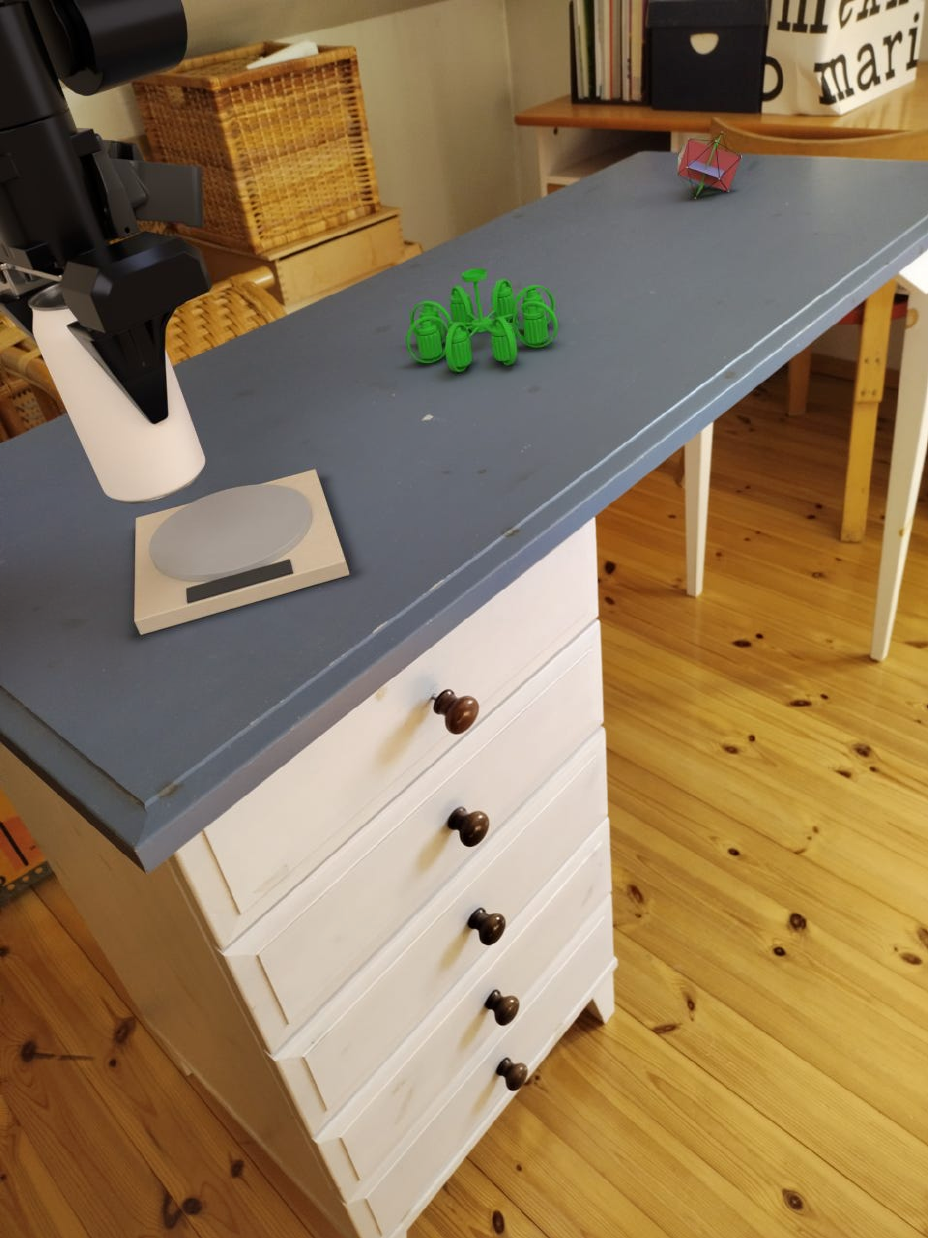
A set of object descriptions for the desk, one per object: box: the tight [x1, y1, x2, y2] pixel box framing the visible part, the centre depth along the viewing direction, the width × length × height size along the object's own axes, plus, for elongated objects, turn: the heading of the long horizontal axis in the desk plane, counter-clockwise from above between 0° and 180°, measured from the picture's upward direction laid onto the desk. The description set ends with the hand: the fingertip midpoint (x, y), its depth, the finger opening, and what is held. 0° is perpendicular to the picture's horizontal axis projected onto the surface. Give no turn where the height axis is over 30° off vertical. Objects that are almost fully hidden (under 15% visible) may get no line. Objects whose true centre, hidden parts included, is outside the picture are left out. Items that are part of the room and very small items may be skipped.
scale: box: [133, 468, 350, 635], centre depth 67 cm, size 14×14×2 cm
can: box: [28, 281, 206, 505], centre depth 56 cm, size 6×6×12 cm
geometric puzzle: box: [676, 131, 743, 200], centre depth 116 cm, size 7×7×8 cm
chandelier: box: [405, 267, 559, 373], centre depth 88 cm, size 15×15×7 cm
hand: (131, 408), depth 56 cm, fingers closed on can, 6 cm apart
